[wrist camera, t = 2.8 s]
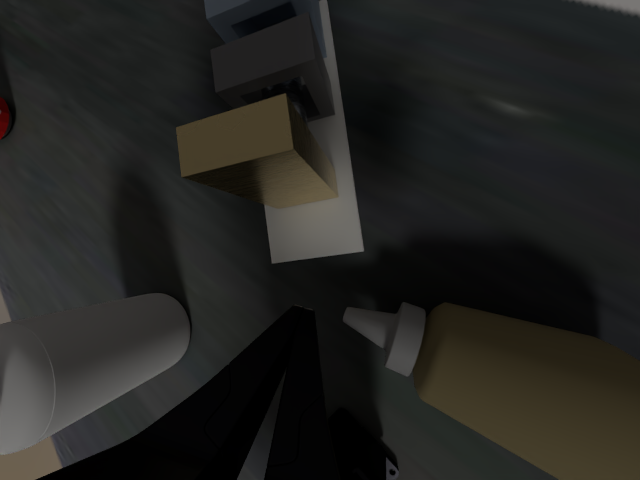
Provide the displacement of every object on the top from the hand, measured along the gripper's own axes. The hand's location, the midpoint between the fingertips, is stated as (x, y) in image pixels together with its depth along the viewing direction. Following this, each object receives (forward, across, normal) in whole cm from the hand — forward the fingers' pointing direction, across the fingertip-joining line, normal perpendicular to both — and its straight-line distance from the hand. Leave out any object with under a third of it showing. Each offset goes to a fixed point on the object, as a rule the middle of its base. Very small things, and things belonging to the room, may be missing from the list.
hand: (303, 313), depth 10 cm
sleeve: (+17, +6, -6) cm, 19 cm away
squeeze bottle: (+3, -20, +5) cm, 21 cm away
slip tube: (+16, +5, -3) cm, 17 cm away
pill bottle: (+7, +16, +17) cm, 24 cm away
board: (+17, +5, -3) cm, 18 cm away
